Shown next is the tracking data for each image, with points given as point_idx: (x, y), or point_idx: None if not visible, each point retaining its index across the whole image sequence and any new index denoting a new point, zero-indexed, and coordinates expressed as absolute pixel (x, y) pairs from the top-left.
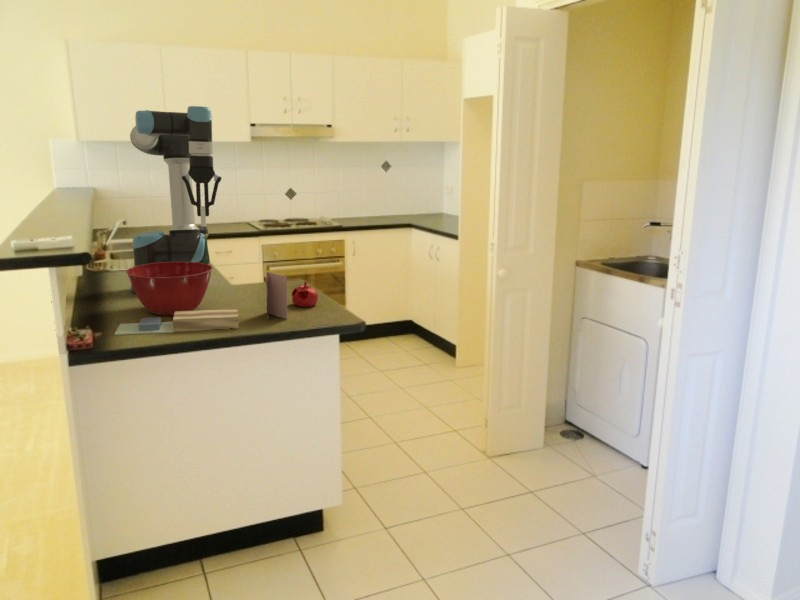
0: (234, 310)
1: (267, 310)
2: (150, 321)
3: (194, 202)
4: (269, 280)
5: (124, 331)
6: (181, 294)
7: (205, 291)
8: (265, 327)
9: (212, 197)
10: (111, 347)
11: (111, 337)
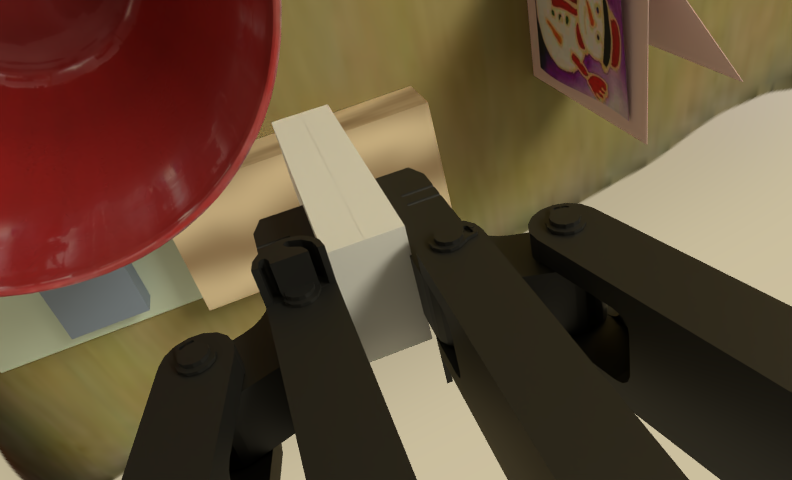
0: (419, 128)
1: (545, 29)
2: (91, 289)
3: (277, 457)
4: None
5: (19, 343)
6: (151, 159)
7: None
8: (529, 158)
9: (645, 404)
10: (90, 463)
11: (11, 393)
